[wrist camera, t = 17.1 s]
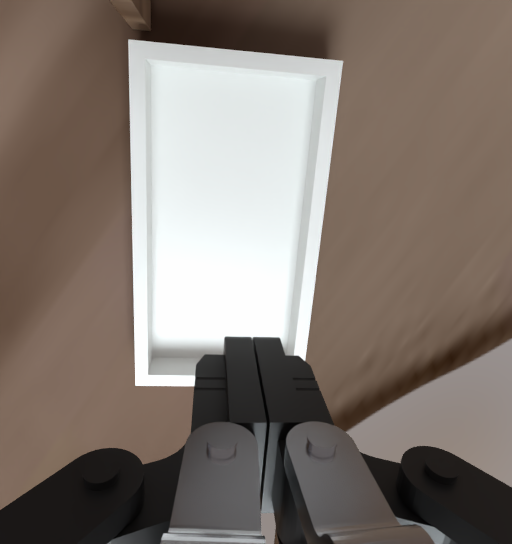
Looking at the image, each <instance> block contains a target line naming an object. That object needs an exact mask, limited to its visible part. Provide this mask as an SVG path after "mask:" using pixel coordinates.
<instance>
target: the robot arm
mask: <svg viewBox="0 0 512 544" xmlns="http://www.w3.org/2000/svg"><path fill="white" fill-rule="evenodd" d="M260 509H261V512H260ZM260 513H274V516H275V522H276V530H275V539H274V544H512V487H509V486H508V485H506V484H505V483H503V482H501V481H499V480H498V479H496V478H494V477H492V476H491V475H489V474H487V473H485V472H483V471H482V470H480V469H478V468H477V467H475V466H473V465H471V464H470V463H468V462H466V461H464V460H463V459H461V458H459V457H457V456H455V455H453V454H452V453H450V452H447V451H445V450H442V449H439V448H435V447H429V446H417V447H413V448H411V449H409V450H407V451H406V452H405V453H404V454H403V456H402V460H401V464H400V463H396V462H392V461H388V460H383V459H379V458H375V457H372V456H368V455H366V454H363V453H361V452H359V450H358V448H357V446H356V444H355V443H354V441H353V440H352V438H351V437H350V436H349V435H348V434H347V433H346V432H344V431H343V430H341V429H340V428H338V427H336V426H334V423H333V421H332V419H331V416H330V414H329V411H328V409H327V406H326V404H325V401H324V399H323V396H322V394H321V391H319V386H318V384H317V381H315V376H314V374H313V371H312V369H311V366H310V365H309V364H308V363H306V362H305V361H304V360H303V359H302V358H301V357H300V356H291V355H285V352H284V349H283V346H282V343H281V340H280V338H279V337H253V338H251V337H231V336H225V337H224V351H223V355H218V354H205V355H204V356H203V357H202V358H201V359H200V361H199V362H198V363H197V364H196V371H195V385H194V398H193V412H192V426H191V434H190V435H189V437H188V439H187V441H186V444H185V445H184V446H183V447H182V448H181V449H180V450H179V451H178V452H176V453H175V454H173V455H171V456H169V457H167V458H165V459H162V460H159V461H155V462H151V463H148V464H144V465H143V464H142V462H141V461H140V459H139V458H138V457H137V456H136V455H134V454H133V453H131V452H129V451H126V450H123V449H118V448H105V449H99V450H95V451H92V452H89V453H86V454H84V455H82V456H80V457H79V458H77V459H75V460H74V461H72V462H71V463H69V464H68V465H66V466H65V467H64V468H62V469H61V470H59V471H58V472H56V473H55V474H53V475H52V476H50V477H49V478H47V479H46V480H44V481H43V482H41V483H40V484H38V485H37V486H35V487H34V488H32V489H31V490H29V491H28V492H26V493H25V494H23V495H22V496H21V497H19V498H18V499H16V500H15V501H13V502H12V503H10V504H9V505H7V506H6V507H4V508H3V509H1V510H0V544H266V541H265V537H264V536H262V535H261V514H260Z"/></svg>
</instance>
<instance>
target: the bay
mask: <svg viewBox="0 0 512 544" xmlns="http://www.w3.org/2000/svg"><path fill="white" fill-rule="evenodd" d="M109 1H110V2H111V3H112V5H113V6H114V7H115V8H116V10H117V11H118V12H119V13H120V15H121V16H122V17H123V18H124V19H125V21H126V22H127V23H128V24H129V26H130V27H131V28H132V29H135V30H145V31H151V0H109Z"/></svg>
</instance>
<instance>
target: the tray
mask: <svg viewBox="0 0 512 544" xmlns="http://www.w3.org/2000/svg"><path fill="white" fill-rule="evenodd" d="M128 46H129V95H130V144H131V192H132V241H133V290H134V339H135V386H194V385H195V371H196V364H197V363H198V362H199V361H200V359H201V358H202V357H203V356H204V355H205V354H218V355H223V351H224V337H225V336H231V337H251V338H253V337H279V338H280V340H281V343H282V346H283V349H284V352H285V355H291V356H300V357H301V358H302V359H303V360H304V361H305V358H306V350H307V342H308V334H309V326H310V318H311V310H312V302H313V294H314V287H315V279H316V271H317V263H318V255H319V247H320V239H321V231H322V223H323V216H324V208H325V200H326V192H327V184H328V176H329V168H330V160H331V152H332V144H333V137H334V129H335V121H336V113H337V105H338V97H339V89H340V81H341V73H342V66H343V61H338V60H328V59H318V58H309V57H299V56H289V55H279V54H269V53H259V52H249V51H239V50H229V49H219V48H209V47H199V46H189V45H179V44H169V43H159V42H149V41H139V40H129V39H128Z"/></svg>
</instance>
